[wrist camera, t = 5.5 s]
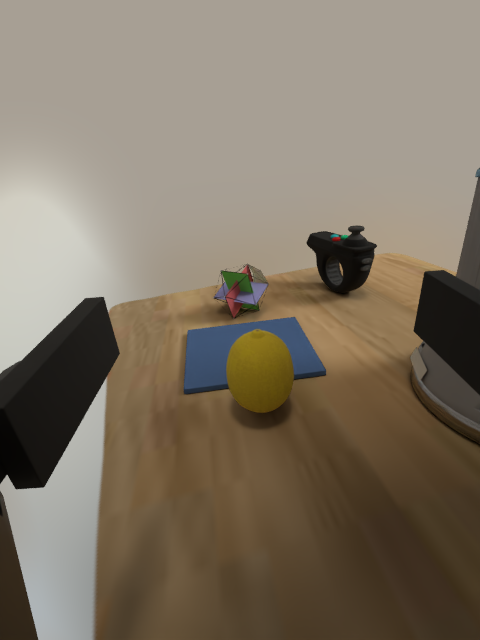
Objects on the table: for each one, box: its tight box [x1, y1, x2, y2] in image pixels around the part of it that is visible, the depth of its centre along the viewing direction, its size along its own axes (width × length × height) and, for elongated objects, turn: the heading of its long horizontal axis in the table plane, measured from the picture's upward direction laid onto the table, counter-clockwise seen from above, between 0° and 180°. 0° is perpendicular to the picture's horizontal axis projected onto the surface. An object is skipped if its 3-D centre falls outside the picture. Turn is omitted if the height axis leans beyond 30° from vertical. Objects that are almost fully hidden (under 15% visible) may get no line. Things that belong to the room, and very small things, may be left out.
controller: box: [307, 226, 377, 292], centre depth 49 cm, size 4×12×10 cm, turn 23°
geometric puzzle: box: [213, 264, 269, 319], centre depth 45 cm, size 7×7×8 cm
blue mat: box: [184, 317, 326, 394], centre depth 37 cm, size 14×12×1 cm
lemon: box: [226, 329, 294, 413], centre depth 27 cm, size 6×6×8 cm
